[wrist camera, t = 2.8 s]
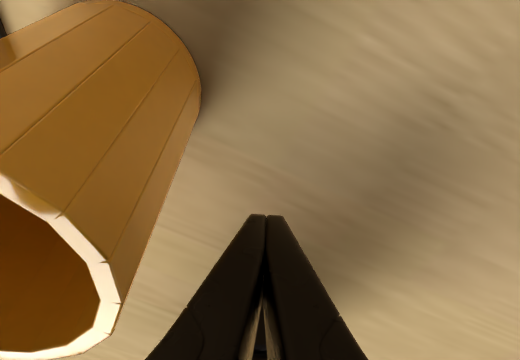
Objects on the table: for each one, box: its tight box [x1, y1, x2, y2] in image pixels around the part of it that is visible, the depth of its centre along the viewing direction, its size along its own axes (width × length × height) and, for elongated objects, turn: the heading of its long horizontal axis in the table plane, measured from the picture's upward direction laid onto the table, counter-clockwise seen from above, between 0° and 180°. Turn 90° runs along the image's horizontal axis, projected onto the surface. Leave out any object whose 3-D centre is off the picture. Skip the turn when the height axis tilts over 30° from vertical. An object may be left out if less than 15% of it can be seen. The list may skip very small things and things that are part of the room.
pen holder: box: [0, 0, 201, 360], centre depth 13 cm, size 7×7×11 cm
